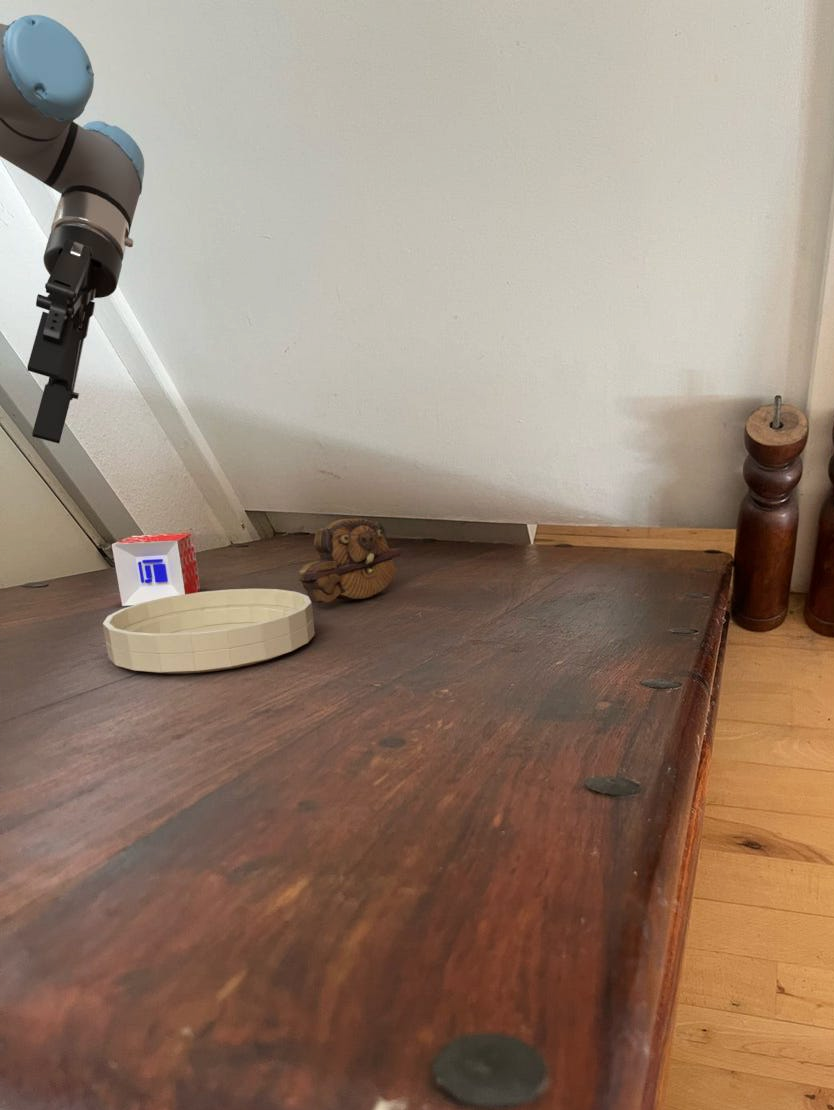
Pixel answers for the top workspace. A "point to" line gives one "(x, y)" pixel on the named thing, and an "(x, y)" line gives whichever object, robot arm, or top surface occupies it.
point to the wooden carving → (349, 562)
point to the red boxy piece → (155, 567)
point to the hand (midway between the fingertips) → (44, 408)
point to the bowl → (208, 630)
